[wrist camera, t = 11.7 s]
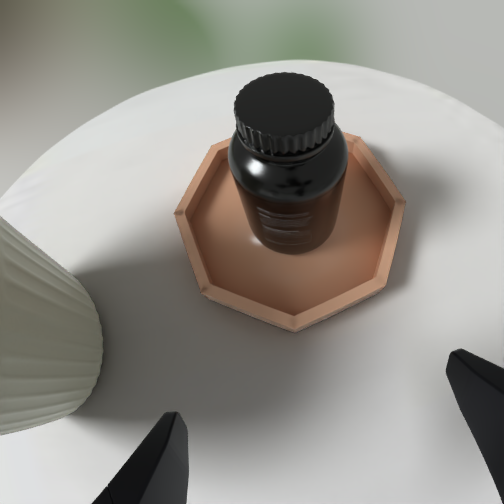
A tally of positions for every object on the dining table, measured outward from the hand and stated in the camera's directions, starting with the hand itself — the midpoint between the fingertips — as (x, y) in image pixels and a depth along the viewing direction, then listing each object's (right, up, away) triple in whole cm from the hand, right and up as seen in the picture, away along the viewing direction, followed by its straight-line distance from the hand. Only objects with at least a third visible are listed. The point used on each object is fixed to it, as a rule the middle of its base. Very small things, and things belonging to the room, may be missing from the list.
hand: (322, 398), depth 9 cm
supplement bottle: (+1, +7, +16) cm, 18 cm away
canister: (-20, -4, +16) cm, 26 cm away
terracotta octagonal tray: (+1, +7, +17) cm, 18 cm away
